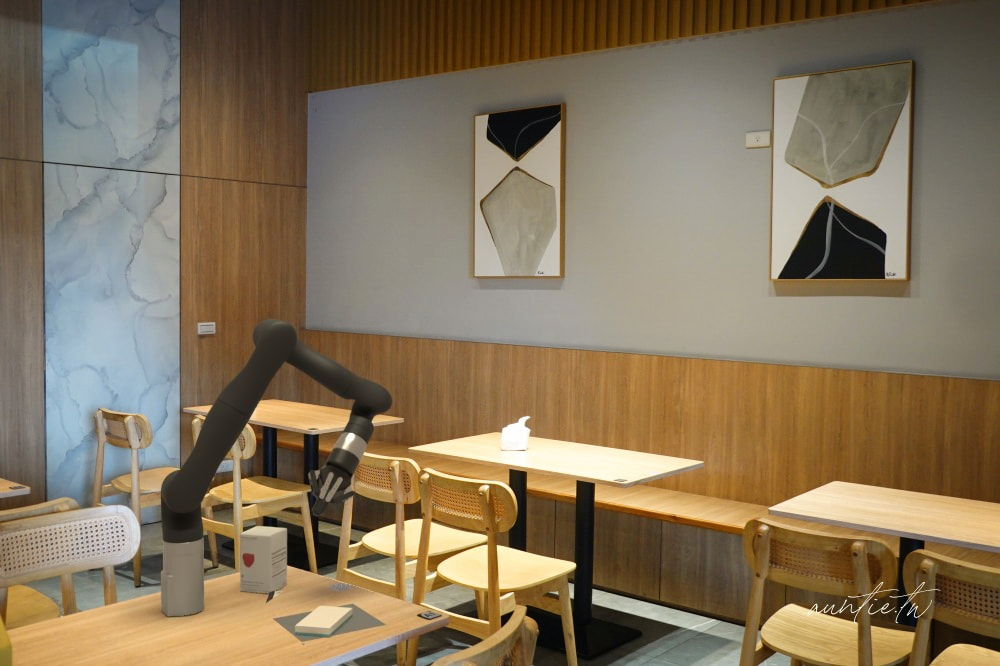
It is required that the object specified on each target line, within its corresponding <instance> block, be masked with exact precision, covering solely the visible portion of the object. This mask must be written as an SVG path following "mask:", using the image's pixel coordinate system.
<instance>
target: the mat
mask: <svg viewBox="0 0 1000 666" xmlns="http://www.w3.org/2000/svg"><path fill="white" fill-rule="evenodd" d="M336 607H346V608H352V617H351V618H350V619H349V620H348V621H347V622H346V623H345V624H344V625H342V626H341V627H340V628H339V629H338V630H337V631H336V632H335V633H334V634H333V635H331V636H330V637H333V636H338V635H343V634H347V633H351V632H352V633H353V632H359V631H362V630H366V629H371V628H372V629H373V628H376V627H382V626H386V625H387V624H386V623H385V622H382V621H381V620H380V619H378V618H377V617H375V616H374V615H372V614H370V613H369V612H367V611H366V610H364V609H362V608H361V607H359V606H358V605H356V604H355V603H349V604H343V605H338V606H337V605H336ZM313 611H314V610H310V611H307V612H302V613H296V614H289V615H285V616H279V617H275V618H272V620H274V621H275V622H276V623H278V624H279V625H280V626H282V628H284V629H285V630H286V631H288V632H289V633H290V634H291V635H293V637H295V638H296V639H298V640H299V641H300V642H301V643H305V642H307V641H308V642H309V641H313V640H319V639H324V638H325V637H320V636H306V635H295V625H296V624H298V623H299V622H300V621H301V620H303V619H304V618H305V617H306V616H308V615H309V614H310V613H311V612H313Z"/></svg>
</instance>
